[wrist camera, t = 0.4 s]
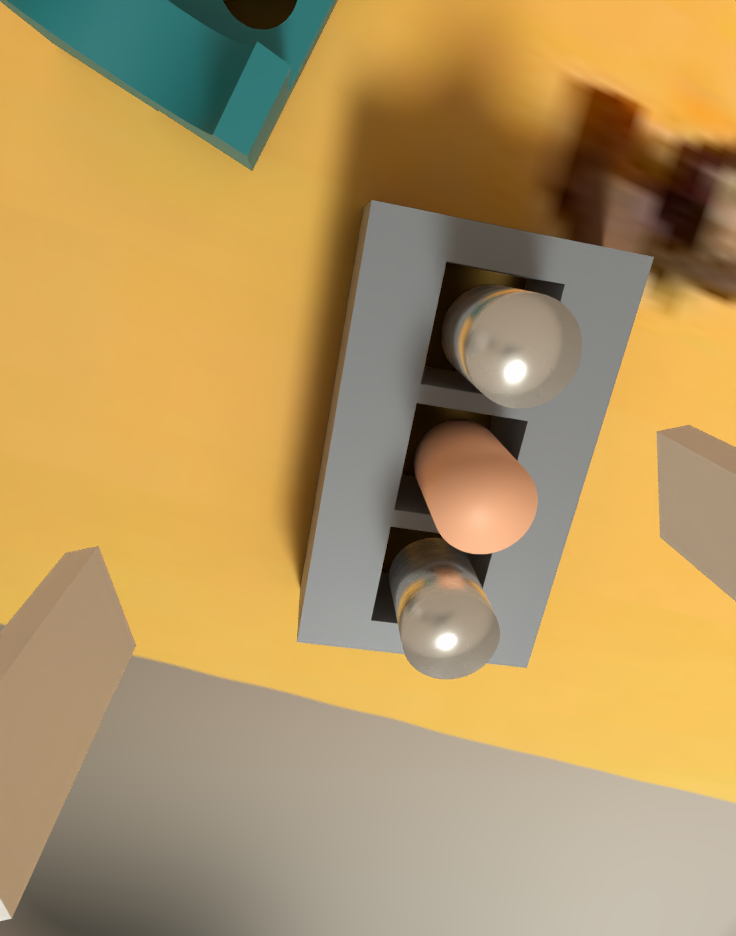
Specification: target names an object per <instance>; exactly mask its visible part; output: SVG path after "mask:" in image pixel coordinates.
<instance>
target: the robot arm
mask: <svg viewBox="0 0 736 936" xmlns="http://www.w3.org/2000/svg"><path fill="white" fill-rule="evenodd" d="M657 454H658V485H659V517H660V537H661V538H662V539H663V540H664V541H665V542H666V543H668V544H669V545H670V546H671V547H672V548H674V549H675V550H676V551H677V552H678V553H679V554H681V555H682V556H683V557H684V558H685V559H686V560H688V561H689V562H690V563H691V564H692V565H694V566H695V567H696V568H697V569H698V570H699V571H701V572H702V573H703V574H704V575H705V576H706V577H708V578H709V579H710V580H711V581H712V582H714V583H715V584H716V585H717V586H718V587H719V588H721V589H722V590H723V591H724V592H725V593H726V594H728V595H729V596H730V597H731V598H732V599H734V600H735V601H736V447H734V446H732V445H730V444H728V443H726V442H723V441H721V440H719V439H717V438H715V437H713V436H711V435H709V434H707V433H705V432H703V431H701V430H699V429H697V428H694V427H692V426H690V425H686V426H682V427H677V428H672V429H667V430H662V431H657ZM135 646H136V644H135V642H134V639H133V636H132V634H131V631H130V628H129V626H128V623H127V620H126V618H125V615H124V613H123V610H122V607H121V605H120V602H119V599H118V597H117V594H116V591H115V589H114V586H113V583H112V581H111V578H110V575H109V573H108V570H107V568H106V565H105V562H104V560H103V557H102V554H101V552H100V549H99V546H97V547H92V548H87V549H83V550H78V551H73V552H68V553H65V554H64V556H63V557H62V558H61V559H60V560H59V562H58V563H57V564H56V565H55V567H54V568H53V569H52V570H51V571H50V573H49V574H48V575H47V576H46V577H45V579H44V580H43V581H42V582H41V584H40V585H39V586H38V587H37V588H36V590H35V591H34V592H33V593H32V595H31V596H30V597H29V598H28V599H27V601H26V602H25V603H24V604H23V605H22V607H21V608H20V609H19V610H18V612H17V613H16V614H15V615H14V616H13V618H12V619H11V620H10V621H9V623H8V624H7V625H6V626H5V627H4V629H3V630H2V631H1V632H0V921H2V920H6V919H12V916H13V914H14V912H15V910H16V908H17V905H18V903H19V901H20V899H21V896H22V894H23V892H24V890H25V888H26V886H27V883H28V881H29V879H30V877H31V875H32V872H33V870H34V868H35V866H36V864H37V861H38V859H39V857H40V855H41V853H42V850H43V848H44V846H45V844H46V842H47V840H48V837H49V835H50V833H51V831H52V829H53V826H54V824H55V822H56V820H57V817H58V815H59V813H60V811H61V809H62V807H63V804H64V802H65V800H66V798H67V795H68V793H69V791H70V789H71V787H72V784H73V782H74V780H75V778H76V776H77V774H78V772H79V769H80V767H81V765H82V763H83V761H84V758H85V756H86V754H87V752H88V750H89V747H90V745H91V743H92V741H93V739H94V736H95V734H96V732H97V730H98V728H99V725H100V723H101V721H102V719H103V716H104V714H105V712H106V710H107V708H108V706H109V703H110V701H111V699H112V697H113V695H114V692H115V690H116V688H117V686H118V684H119V681H120V679H121V677H122V675H123V673H124V670H125V668H126V666H127V664H128V662H129V659H130V657H131V655H132V653H133V651H134V649H135Z"/></svg>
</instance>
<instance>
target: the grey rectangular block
mask: <svg viewBox="0 0 736 936" xmlns="http://www.w3.org/2000/svg"><path fill="white" fill-rule="evenodd" d="M653 259H654V257H651V256H646V255H641V254H636V253H631V252H626V251H621V250H616V249H611V248H607V247H602V246H597V245H592V244H587V243H582V242H577V241H572V240H567V239H562V238H557V237H552V236H547V235H542V234H538V233H533V232H528V231H523V230H518V229H513V228H508V227H503V226H498V225H493V224H488V223H483V222H478V221H473V220H469V219H464V218H459V217H454V216H449V215H444V214H439V213H434V212H429V211H424V210H419V209H414V208H409V207H405V206H400V205H395V204H390V203H385V202H380V201H375V200H371V201H370V202H369V203H368V204H367V205H366V206H365V207H363V213H362V219H361V225H360V231H359V237H358V243H357V249H356V255H355V261H354V267H353V273H352V279H351V285H350V291H349V298H348V304H347V310H346V316H345V322H344V328H343V334H342V340H341V346H340V352H339V358H338V364H337V370H336V376H335V382H334V388H333V394H332V400H331V406H330V412H329V418H328V424H327V430H326V436H325V442H324V448H323V454H322V460H321V466H320V472H319V478H318V484H317V491H316V497H315V503H314V509H313V515H312V521H311V527H310V533H309V539H308V545H307V551H306V557H305V563H304V569H303V575H302V581H301V587H300V600H299V617H298V633H297V642H301V643H310V644H318V645H327V646H336V647H345V648H354V649H363V650H372V651H381V652H390V653H399V654H404V651H403V646H402V642H401V637H400V632H399V627H398V622H397V617H396V612H395V607H394V602H393V598H392V593H391V588H390V582H389V573H383V572H381V570H382V566H383V561H384V556H385V551H386V547H387V542H388V537H389V532H390V528H391V527H398V528H405V529H412V530H420V531H427V532H434V533H439V531H438V530H437V527H436V525H435V523H434V520H433V518H432V515H431V513H430V511H429V508H428V506H427V503H426V501H425V498H424V496H423V494H422V491H421V489H420V486H419V484H418V482H417V479H416V477H411V476H404V475H402V471H403V466H404V461H405V456H406V452H407V447H408V442H409V437H410V433H411V428H412V423H413V418H414V413H415V409H416V404H417V403H420V404H426V405H432V406H438V407H444V408H450V409H456V410H463V411H469V412H475V413H481V414H487V415H493V416H492V420H491V424H490V428H489V431H490V432H491V433H492V434H493V435H494V436H495V437H496V438H497V439H498V440H499V442H500V443H501V444H502V445H503V446H504V447H505V448H506V449H507V450H508V451H509V452H510V454H511V455H512V456H513V457H514V458H515V459H516V460H517V461H518V462H519V463H520V464H521V466H522V467H523V468H524V469H525V470H526V471H527V472H528V473H529V475H530V476H531V478H532V480H533V481H534V484H535V486H536V490H537V495H538V506H537V511H536V515H535V518H534V520H533V522H532V524H531V526H530V528H529V529H528V531H527V532H526V533H525V534H524V535H523V536H522V537H521V538H520V539H519V540H518V541H517V542H515V543H514V544H513V545H511V546H509V547H507V548H506V549H503V550H501V551H498V552H494V553H489V554H472V553H467V552H465V553H466V555H467V557H468V559H469V561H470V563H471V565H472V567H473V569H474V571H475V573H476V576H477V578H478V580H479V582H480V584H481V586H482V588H483V590H484V592H485V595H486V597H487V599H488V601H489V603H490V605H491V607H492V609H493V611H494V614H495V616H496V618H497V620H498V623H499V627H500V639H499V644H498V646H497V649H496V651H495V653H494V655H493V656H492V657H491V659H490V660H489V661H488V662H487V663H489V664H498V665H507V666H516V667H525V668H527V665H528V662H529V659H530V656H531V652H532V649H533V646H534V643H535V639H536V636H537V633H538V630H539V627H540V623H541V620H542V617H543V614H544V610H545V607H546V604H547V601H548V597H549V594H550V591H551V588H552V585H553V581H554V578H555V575H556V572H557V568H558V565H559V562H560V559H561V556H562V552H563V549H564V546H565V543H566V539H567V536H568V533H569V530H570V526H571V523H572V520H573V517H574V514H575V510H576V507H577V504H578V501H579V497H580V494H581V491H582V488H583V485H584V481H585V478H586V475H587V472H588V468H589V465H590V462H591V459H592V455H593V452H594V449H595V446H596V443H597V439H598V436H599V433H600V430H601V426H602V423H603V420H604V417H605V414H606V410H607V407H608V404H609V401H610V397H611V394H612V391H613V388H614V384H615V381H616V378H617V375H618V372H619V368H620V365H621V362H622V359H623V355H624V352H625V349H626V346H627V343H628V339H629V336H630V333H631V330H632V326H633V323H634V320H635V317H636V313H637V310H638V307H639V304H640V301H641V297H642V294H643V291H644V288H645V284H646V281H647V278H648V275H649V272H650V268H651V265H652V262H653ZM446 263H450V264H455V265H460V266H465V267H470V268H476V269H481V270H486V271H491V272H496V273H502V274H507V275H512V276H517V277H522V278H527V281H526V285H525V289H524V290H526V291H531V292H536V293H540V294H544V295H548V296H550V297H553V298H555V299H557V300H558V301H560V302H561V303H563V304H564V305H565V306H566V307H567V308H568V309H569V310H570V311H571V313H572V314H573V316H574V317H575V319H576V321H577V323H578V325H579V328H580V332H581V337H582V354H581V359H580V363H579V366H578V368H577V371H576V373H575V375H574V377H573V378H572V380H571V381H570V383H569V384H568V385H567V386H566V388H565V389H564V390H563V391H562V392H561V393H560V394H558V395H557V396H556V397H554V398H553V399H551V400H550V401H548V402H546V403H544V404H541V405H539V406H535V407H532V408H526V409H515V408H508V407H504V406H502V405H499V404H497V403H495V402H493V401H491V400H490V399H489V398H487V397H486V396H485V395H484V394H483V393H482V392H481V391H479V390H478V389H477V388H476V387H475V386H474V385H473V384H472V383H471V382H470V381H468V380H467V379H466V378H465V377H464V376H463V375H462V374H461V373H459V372H453V371H448V370H442V369H436V368H430V367H424V366H425V361H426V356H427V352H428V347H429V342H430V337H431V333H432V328H433V323H434V318H435V314H436V309H437V304H438V299H439V295H440V290H441V285H442V280H443V276H444V271H445V266H446Z"/></svg>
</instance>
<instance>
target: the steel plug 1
mask: <svg viewBox="0 0 736 936" xmlns="http://www.w3.org/2000/svg"><path fill="white" fill-rule="evenodd" d="M389 582H390V588H391V593H392V598H393V602H394V607H395V612H396V617H397V622H398V627H399V632H400V637H401V642H402V646H403V651H404V654H405V656H406V658H407V660H408V661H409V662H410V664H411V665H412V666H413V667H414V668H415V669H417V670H418V671H419V672H421V673H423V674H425V675H427V676H430V677H433V678H438V679H455V678H460V677H464V676H467V675H469V674H472V673H474V672H475V671H477V670H479V669H480V668H482V667H483V666H484V665H485V664H486V663H487V662H488V661H489V660H490V659H491V657H492V656H493V655H494V653H495V651H496V649H497V646H498V644H499V639H500V627H499V623H498V620H497V618H496V616H495V614H494V611H493V609H492V607H491V605H490V603H489V601H488V599H487V597H486V595H485V592H484V590H483V588H482V586H481V584H480V582H479V580H478V578H477V576H476V573H475V571H474V569H473V567H472V565H471V563H470V561H469V559H468V557H467V555H466V553H465V552H464V551H461V550H459V549H457V548H455V547H453V546H452V545H450V544H449V543H448V542H447V541H445V540H444V539H441V538H425V539H420V540H417V541H415V542H412V543H411V544H409V545H407V546H406V547H404V548H403V549H402V550H401V551H400V552H399V553H398V554H397V556H396V557H395V559H394V560H393V562H392V564H391V567H390V572H389Z"/></svg>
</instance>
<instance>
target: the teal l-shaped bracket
mask: <svg viewBox="0 0 736 936" xmlns="http://www.w3.org/2000/svg"><path fill="white" fill-rule="evenodd" d="M0 1H1V2H2V3H3V4H4V5H6V6H7V7H8V8H9V9H11V10H12V11H13V12H14V13H16V14H17V15H18V16H19V17H21V18H22V19H23V20H24V21H26V22H27V23H28V24H30V25H31V26H32V27H33V28H35V29H36V30H37V31H38V32H40V33H41V34H42V35H43V36H45V37H46V38H47V39H48V40H50V41H51V42H52V43H53V44H55V45H56V46H58V47H60V48H61V49H63V50H64V51H66V52H67V53H69V54H70V55H72V56H73V57H75V58H77V59H78V60H80V61H81V62H83V63H84V64H86V65H87V66H89V67H90V68H92V69H94V70H95V71H97V72H98V73H100V74H101V75H103V76H104V77H106V78H107V79H109V80H111V81H112V82H114V83H115V84H117V85H118V86H120V87H121V88H123V89H124V90H126V91H128V92H129V93H131V94H132V95H134V96H135V97H137V98H138V99H140V100H142V101H143V102H145V103H146V104H148V105H149V106H151V107H152V108H154V109H156V110H157V111H158V110H159V111H161V112H162V113H164V114H165V115H167V116H168V117H170V118H171V119H173V120H174V121H176V122H178V123H179V124H181V125H182V126H184V127H185V128H187V129H188V130H190V131H191V132H193V133H195V134H196V135H198V136H199V137H201V138H202V139H204V140H205V141H207V142H208V143H210V144H212V145H213V146H215V147H216V148H218V149H219V150H221V151H222V152H224V153H225V154H227V155H229V156H230V157H232V158H233V159H235V160H236V161H238V162H239V163H241V164H242V165H244V166H246V167H247V168H249V169H250V170H253V168H254V166H255V164H256V162H257V160H258V158H259V156H260V154H261V152H262V150H263V148H264V146H265V144H266V142H267V140H268V138H269V136H270V134H271V132H272V130H273V128H274V126H275V124H276V122H277V120H278V118H279V116H280V114H281V112H282V110H283V108H284V106H285V104H286V102H287V100H288V98H289V96H290V94H291V92H292V90H293V89H294V87H295V85H296V83H297V81H298V79H299V77H300V75H301V73H302V71H303V69H304V67H305V65H306V63H307V61H308V59H309V57H310V55H311V53H312V51H313V49H314V47H315V45H316V43H317V41H318V39H319V37H320V35H321V33H322V31H323V29H324V27H325V25H326V23H327V21H328V19H329V17H330V15H331V13H332V11H333V9H334V7H335V5H336V3H337V1H338V0H295V4H296V6H295V8H294V10H293V12H292V13H291V15H290V16H289V17H288V18H287V19H286V20H285V21H284V22H283V23H282V24H280V25H279V26H277V27H274V28H271V29H264V30H261V29H254V28H251V27H248V26H246V25H244V24H243V23H241V22H240V21H238V20H237V19H236V18H235V17H234V16H233V15H232V14H231V13H230V11H229V10H228V8H227V7H226V5H225V3H224V1H223V0H0Z"/></svg>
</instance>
